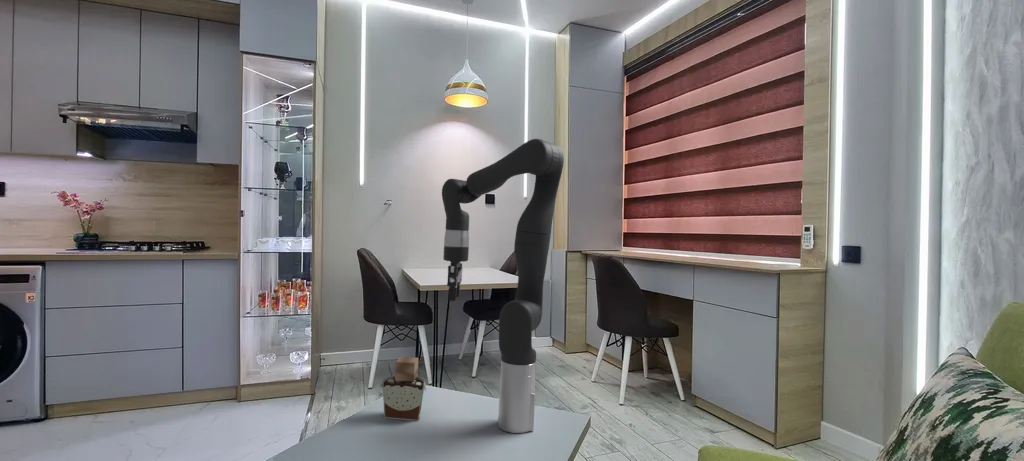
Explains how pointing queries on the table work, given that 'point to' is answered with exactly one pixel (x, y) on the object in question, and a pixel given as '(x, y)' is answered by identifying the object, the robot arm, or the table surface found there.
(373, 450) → the table surface
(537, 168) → the robot arm
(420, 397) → the food container
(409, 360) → the walnut cube
